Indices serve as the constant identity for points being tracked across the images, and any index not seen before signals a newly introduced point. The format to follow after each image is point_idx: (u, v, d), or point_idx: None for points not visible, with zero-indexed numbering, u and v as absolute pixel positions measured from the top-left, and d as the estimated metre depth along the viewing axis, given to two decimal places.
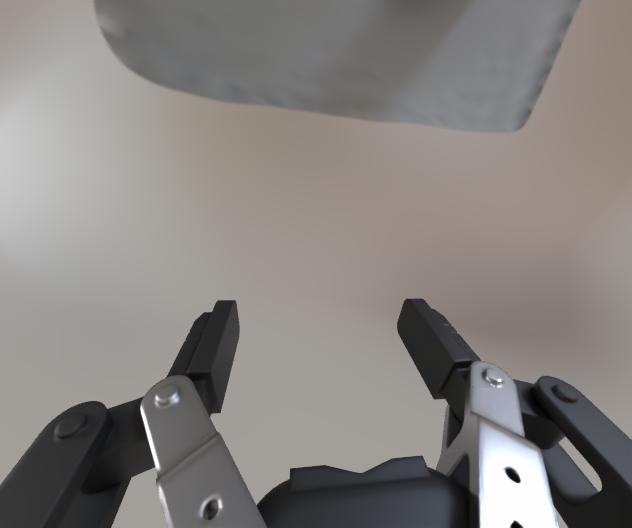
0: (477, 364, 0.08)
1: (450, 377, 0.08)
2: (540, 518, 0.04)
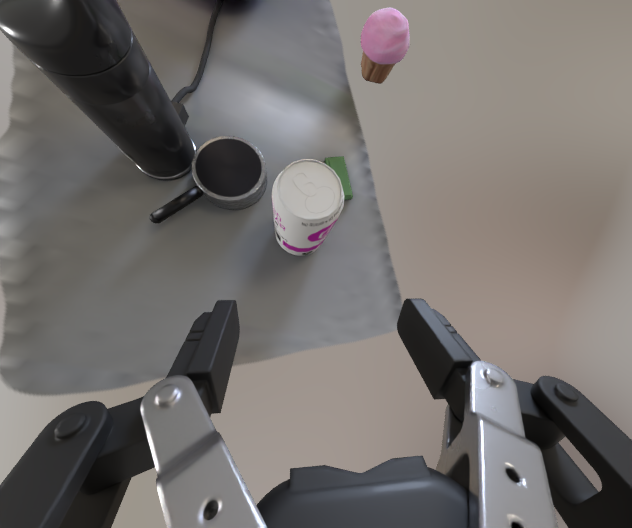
0: (477, 364, 0.08)
1: (450, 377, 0.08)
2: (540, 518, 0.04)
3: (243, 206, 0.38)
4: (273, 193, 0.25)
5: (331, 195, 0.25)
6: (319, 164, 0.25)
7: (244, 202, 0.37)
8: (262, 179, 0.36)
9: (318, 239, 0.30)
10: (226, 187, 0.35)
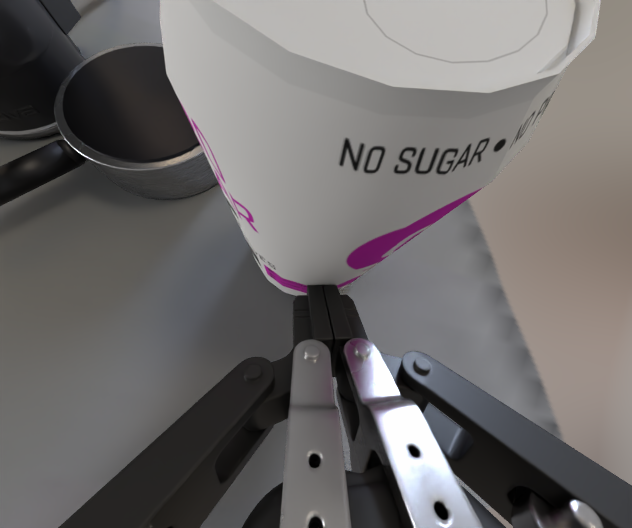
0: (353, 341, 0.08)
1: (337, 354, 0.09)
2: (444, 478, 0.04)
3: (184, 191, 0.17)
4: None
5: None
6: None
7: (183, 181, 0.16)
8: None
9: (376, 261, 0.09)
10: (134, 140, 0.15)
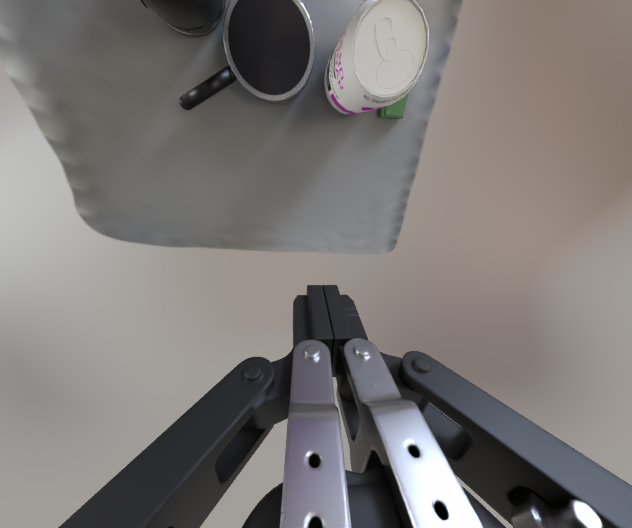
0: (353, 341, 0.08)
1: (337, 354, 0.09)
2: (444, 478, 0.04)
3: (279, 102, 0.33)
4: (346, 39, 0.21)
5: (408, 67, 0.21)
6: (415, 9, 0.20)
7: (281, 101, 0.32)
8: (307, 76, 0.30)
9: None
10: (264, 79, 0.29)
